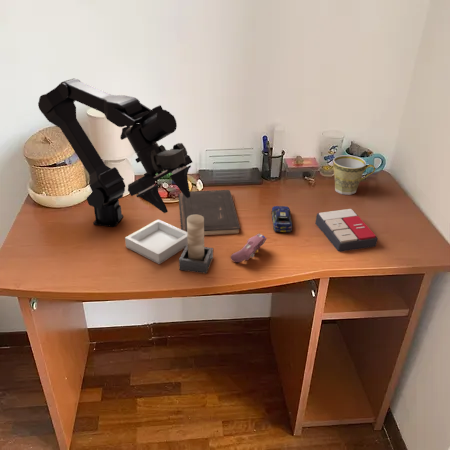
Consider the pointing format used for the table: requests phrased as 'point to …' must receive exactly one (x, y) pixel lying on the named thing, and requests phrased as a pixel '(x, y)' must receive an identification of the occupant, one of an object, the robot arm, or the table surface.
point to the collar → (196, 261)
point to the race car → (281, 219)
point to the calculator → (345, 230)
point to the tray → (157, 241)
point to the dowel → (195, 237)
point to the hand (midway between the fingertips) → (177, 204)
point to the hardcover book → (210, 211)
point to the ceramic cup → (349, 173)
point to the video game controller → (249, 248)
